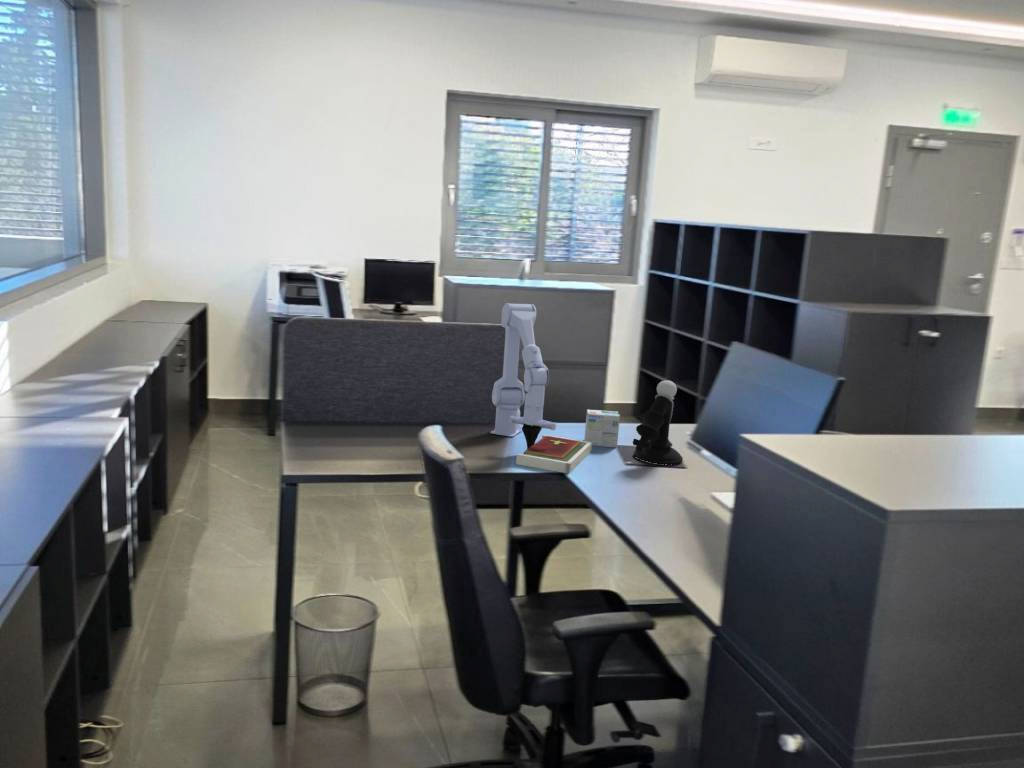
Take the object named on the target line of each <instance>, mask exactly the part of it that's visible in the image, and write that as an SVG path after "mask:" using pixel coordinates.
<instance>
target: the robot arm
mask: <svg viewBox="0 0 1024 768" xmlns="http://www.w3.org/2000/svg"><path fill="white" fill-rule="evenodd" d="M536 320H537V308H536V306H535V304H533V303H530V304H529V303H509V302H506V303H505V304H504V305H503V307H502V309H501V321H500V322H501V327H503V328H504V329H505V330H504V331H505V335H504V352H503V365H502V366H503V368H502V376H501V378H499V379H498V380H496V381H495V382H494V384H493V389H492V391H491V401H492V404H493V405H494V406H495V407H496V409H495V421H494V422H495V424H494V429H493V430H491V431H490V434H493V435H499V436H503V437H504V436H505V437H510V438H514V437H515V436H516V435H518V434H519V433H521V432H522V433H523V434H524V438H525V441H526V450H527V449H528V448H530V447H531V446H533V445H534V444H535V443H536V441H537V438H538V436H539V435H540V432H541V431H542V429H547V430H550V431H555V430H556V429H557V422H552V421H550V420H549V421H548V420H545V419H543V415H544V414H543V413H544V403H545V391H546V390H545V389H546V386H548V385H549V382H550V372H549V369H548V367H547V366H546V364H544V361H543V357H542V356H543V355H542V353H541V349H540V347H539V346H537V345H536V339H535V333H534V332H535V331H534V325H535V322H536ZM521 341H522V342H521ZM521 343H522V346H523V349H522V351H521V355H522V361H523V365H524V374H523V382H524V384H523V382H522V381H521V380H519V378H518V375H519V360H520V359H519V358H520V344H521ZM523 404H524V408H523V416H521V410H520V409H521V406H523ZM520 425H521V426H522V427H521V429H520Z"/></svg>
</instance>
